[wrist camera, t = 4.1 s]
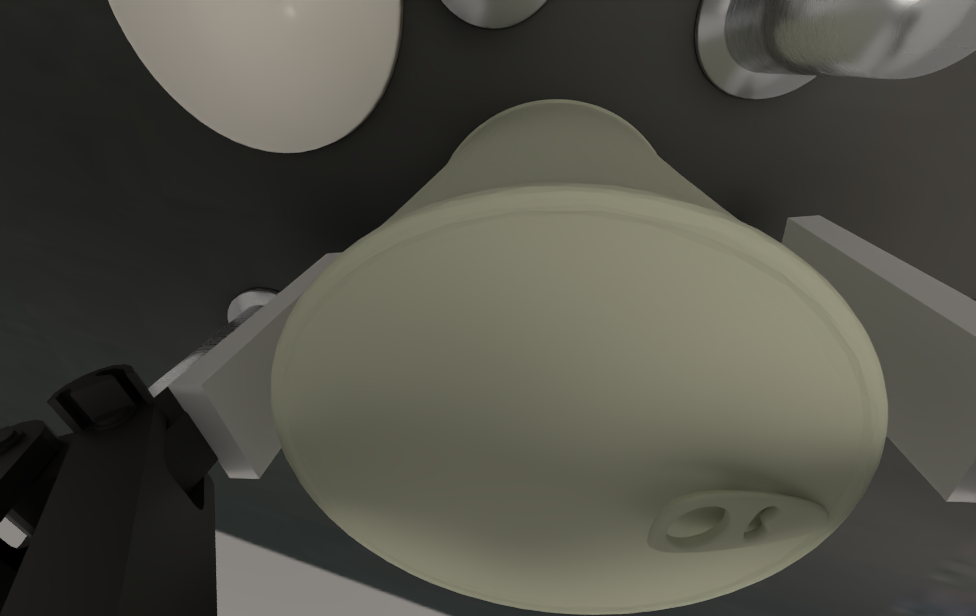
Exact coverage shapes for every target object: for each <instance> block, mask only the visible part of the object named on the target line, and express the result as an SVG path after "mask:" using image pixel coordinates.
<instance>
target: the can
mask: <svg viewBox="0 0 976 616" xmlns="http://www.w3.org/2000/svg"><path fill="white" fill-rule="evenodd" d="M271 408H272V416H273V421H274V425H275V429H276V432H277V436H278V438H279V441H280V444H281V446H282V449H283V452H284V455H285V457H286V459H287V461H288V462H289V464H290V466H291V468H292V469H293V471H294V473H295V475H296V476H297V478H298V480H299V482H300V483H301V485H302V486H303V487H304V488H305V490H306V491H307V492H308V494H309V495H310V496H311V498H312V499H313V500H314V501H315V503H316V504H317V505H318V506H319V507H320V508H321V509H322V510H323V511H324V512H325V513H326V514H327V515H328V517H329V518H330V519H331V520H333V521H334V522H335V523H336V524H337V525H338V526H339V527H341V528H342V529H343V530H344V531H345V532H346V533H347V534H348V535H350V536H351V537H352V538H354V539H355V540H356V541H358V542H359V543H360V544H362V545H363V546H364V547H366V548H368V549H369V550H371V551H372V552H374V553H375V554H377V555H379V556H380V557H382V558H383V559H385V560H386V561H388V562H390V563H392V564H394V565H395V566H397V567H399V568H401V569H403V570H405V571H407V572H408V573H410V574H412V575H415V576H417V577H419V578H421V579H423V580H426V581H428V582H430V583H433V584H436V585H438V586H441V587H444V588H447V589H449V590H452V591H455V592H458V593H460V594H464V595H467V596H471V597H475V598H478V599H482V600H485V601H489V602H493V603H497V604H502V605H507V606H512V607H517V608H523V609H530V610H536V611H544V612H553V613H566V614H591V615H599V614H626V613H636V612H646V611H655V610H661V609H667V608H673V607H679V606H684V605H689V604H693V603H697V602H701V601H705V600H708V599H711V598H715V597H718V596H721V595H725V594H728V593H731V592H734V591H736V590H739V589H741V588H744V587H746V586H748V585H751V584H753V583H756V582H758V581H761V580H763V579H765V578H767V577H769V576H771V575H773V574H775V573H777V572H779V571H781V570H782V569H784V568H785V567H787V566H789V565H790V564H792V563H794V562H795V561H797V560H798V559H800V558H802V557H803V556H804V555H806V554H807V553H809V552H810V551H811V550H813V549H814V548H816V547H817V546H818V545H819V544H820V543H821V542H823V541H824V540H825V539H826V538H827V537H828V536H829V535H830V534H831V533H833V532H834V531H835V530H836V529H837V528H838V526H839V525H840V524H841V523H842V522H843V521H844V520H845V519H846V518H847V517H848V516H849V514H850V513H851V512H852V510H853V509H854V508H855V506H856V505H857V503H858V502H859V501H860V499H861V498H862V497H863V495H864V494H865V492H866V490H867V488H868V486H869V484H870V482H871V480H872V478H873V476H874V474H875V472H876V470H877V468H878V466H879V463H880V459H881V455H882V452H883V447H884V443H885V439H886V433H887V424H888V400H887V394H886V388H885V382H884V377H883V373H882V369H881V365H880V362H879V359H878V356H877V354H876V352H875V349H874V347H873V345H872V342H871V340H870V338H869V335H868V334H867V332H866V330H865V329H864V327H863V326H862V324H861V322H860V321H859V319H858V318H857V317H856V315H855V314H854V312H853V311H852V309H851V308H850V306H849V305H848V303H847V302H846V301H845V300H844V298H843V297H842V296H841V295H840V294H839V293H838V292H837V291H836V289H835V288H834V287H833V286H832V285H831V284H830V283H829V281H828V280H826V279H825V278H824V277H823V276H822V275H821V274H820V273H818V272H817V271H816V270H815V269H814V268H813V267H812V266H810V265H809V264H808V263H807V262H806V261H804V260H803V259H802V258H800V257H799V256H798V255H796V254H795V253H794V252H792V251H791V250H790V249H789V248H787V247H786V246H784V245H783V244H781V243H780V242H778V241H776V240H775V239H773V238H771V237H770V236H768V235H766V234H765V233H763V232H762V231H760V230H758V229H756V228H754V227H752V226H750V225H748V224H745V223H743V222H741V221H739V220H738V219H737V218H735V217H734V216H733V215H731V214H730V213H729V212H727V211H726V210H725V209H723V208H722V207H721V206H720V205H718V204H717V203H716V202H715V201H713V200H712V199H711V198H709V197H708V196H707V195H706V194H704V193H703V192H702V191H701V190H699V189H698V188H697V187H695V186H694V185H693V184H692V183H690V182H689V181H688V180H687V179H685V178H684V177H683V176H681V175H680V174H679V173H678V172H677V171H676V170H674V169H673V168H672V167H671V166H670V165H668V164H667V163H666V162H665V161H664V160H662V159H661V158H660V157H659V156H658V155H657V153H656V152H655V150H654V149H653V148H652V146H651V145H650V143H649V142H648V141H647V140H646V139H645V137H644V136H643V135H642V134H641V133H640V132H639V131H638V130H637V129H636V128H634V127H633V126H632V125H631V124H629V123H628V122H627V121H625V120H624V119H623V118H621V117H619V116H618V115H616V114H614V113H612V112H610V111H608V110H606V109H604V108H601V107H599V106H596V105H592V104H589V103H585V102H581V101H576V100H567V99H547V100H538V101H533V102H528V103H524V104H521V105H517V106H515V107H512V108H509V109H507V110H505V111H503V112H501V113H499V114H497V115H495V116H493V117H491V118H490V119H488V120H487V121H485V122H484V123H482V124H481V125H480V126H478V127H477V128H476V129H475V130H474V131H473V132H471V133H470V134H469V135H468V136H467V138H466V139H465V140H464V141H463V142H462V143H461V144H460V145H459V147H458V148H457V149H456V151H455V152H454V153H453V155H452V156H451V158H450V160H449V162H448V163H447V165H446V166H445V167H444V168H443V169H441V170H440V171H439V172H438V173H437V174H436V175H435V176H434V177H433V178H432V179H431V180H430V181H429V182H428V183H427V184H426V185H425V186H424V187H422V188H421V189H420V190H419V191H418V192H417V193H416V194H415V195H414V196H413V197H412V198H411V199H410V200H409V201H408V202H407V203H406V204H405V205H403V206H402V207H401V208H400V209H399V210H398V211H397V212H396V213H395V214H394V215H393V216H392V217H390V218H389V219H388V220H387V221H386V222H385V223H384V224H382V225H381V226H380V227H379V228H377V229H375V230H374V231H372V232H371V233H369V234H367V235H366V236H364V237H362V238H361V239H359V240H358V241H357V242H355V243H354V244H353V245H351V246H350V247H349V248H347V249H346V250H345V251H344V252H342V253H341V254H340V255H339V256H338V257H337V258H335V259H334V260H333V261H332V262H331V263H330V264H328V265H327V266H326V267H325V268H324V269H323V270H322V271H321V272H320V274H319V275H318V276H317V277H316V278H315V279H314V280H313V281H312V282H311V284H310V285H309V286H308V288H307V289H306V290H305V291H304V293H303V294H302V295H301V297H300V298H299V299H298V301H297V303H296V304H295V306H294V308H293V310H292V312H291V314H290V315H289V317H288V319H287V321H286V323H285V326H284V328H283V331H282V333H281V336H280V338H279V341H278V343H277V346H276V350H275V355H274V359H273V363H272V370H271Z"/></svg>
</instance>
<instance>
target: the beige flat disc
mask: <svg viewBox="0 0 976 616" xmlns="http://www.w3.org/2000/svg"><path fill="white" fill-rule="evenodd" d="M108 2H109V4H110V6H111V8H112V11H113V13H114V15H115V17H116V19H117V21H118V23H119V25H120V26H121V28H122V30H123V32H124V34H125V36H126V38H127V39H128V41H129V42H130V44H131V45H132V47H133V49H134V50H135V52H136V53H137V55H138V56H139V58H140V59H141V61H142V62H143V63H144V65H145V66H146V67H147V69H148V70H149V71H150V73H151V74H152V75H153V77H154V78H155V79H156V80H157V81H158V82H159V83H160V84H161V86H162V87H163V88H164V89H165V90H166V91H167V92H168V93H169V95H171V96H172V97H173V98H174V99H175V100H176V101H177V102H178V103H179V104H180V105H181V106H182V107H183V108H184V109H185V110H187V111H188V112H189V113H190V114H192V115H193V116H194V117H196V118H197V119H198V120H199V121H201V122H202V123H203V124H205V125H207V126H208V127H210V128H211V129H213V130H214V131H216V132H217V133H219V134H221V135H223V136H225V137H227V138H229V139H231V140H233V141H235V142H238V143H241V144H243V145H246V146H249V147H251V148H255V149H260V150H264V151H268V152H278V153H297V152H305V151H309V150H314V149H318V148H320V147H323V146H326V145H328V144H331V143H334V142H336V141H338V140H340V139H342V138H343V137H345V136H347V135H348V134H350V133H352V132H353V131H354V130H355V129H356V128H358V127H359V126H360V125H361V124H362V123H363V122H364V121H365V120H366V119H367V118H368V117H369V116H370V114H371V113H372V112H373V111H374V110H375V108H376V107H377V105H378V103H379V102H380V100H381V99H382V97H383V95H384V94H385V91H386V89H387V87H388V85H389V83H390V80H391V78H392V75H393V72H394V69H395V66H396V62H397V59H398V55H399V49H400V44H401V38H402V28H403V13H404V7H403V0H108Z"/></svg>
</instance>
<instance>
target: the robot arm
mask: <svg viewBox="0 0 976 616" xmlns="http://www.w3.org/2000/svg"><path fill="white" fill-rule="evenodd" d="M782 244H783V245H784V246H786V247H787V248H789V249H790V250H791V251H792V252H794V253H795V254H796V255H798V256H799V257H800V258H802V259H803V260H804V261H806V262H807V263H808V264H809V265H810V266H812V267H813V268H814V269H815V270H816V271H817V272H818V273H820V274H821V275H822V276H823V277H824V278H825V279H826V280H828V281H829V283H830V284H831V285H832V286H833V287H834V288H835V289H836V291H837V292H838V293H839V294H840V295H841V296H842V297H843V298H844V300H845V301H846V302H847V303H848V305H849V306H850V308H851V309H852V311H853V312H854V314H855V315H856V317H857V318H858V319H859V321H860V322H861V324H862V326H863V327H864V329H865V330H866V332H867V334H868V335H869V338H870V340H871V342H872V345H873V347H874V349H875V352H876V354H877V356H878V359H879V362H880V365H881V369H882V373H883V377H884V382H885V388H886V394H887V400H888V424H887V433H886V436H887V437H888V438H889V439H890V440H891V441H892V442H893V443H894V444H895V445H896V447H897V448H898V449H899V450H900V451H901V452H902V453H903V454H904V455H905V456H906V457H907V459H908V460H909V461H910V462H911V463H912V464H913V465H914V466H915V467H916V468H917V470H918V471H919V472H920V473H921V474H922V475H923V476H924V477H925V478H926V479H927V480H928V482H929V483H930V484H931V485H932V486H933V487H934V488H935V489H936V490H937V491H938V493H939V494H940V495H941V496H942V497H943V498H944V499H945V500H946V501H952V502H976V300H975V299H972V298H969V297H967V296H965V295H964V294H962V293H960V292H958V291H956V290H954V289H953V288H951V287H949V286H947V285H945V284H944V283H942V282H940V281H938V280H936V279H934V278H933V277H931V276H929V275H927V274H925V273H923V272H922V271H920V270H918V269H916V268H914V267H913V266H911V265H909V264H907V263H905V262H903V261H902V260H900V259H898V258H896V257H894V256H893V255H891V254H889V253H887V252H885V251H883V250H882V249H880V248H878V247H876V246H874V245H873V244H871V243H869V242H867V241H865V240H863V239H862V238H860V237H858V236H856V235H854V234H853V233H851V232H849V231H847V230H845V229H843V228H842V227H840V226H838V225H836V224H834V223H833V222H831V221H829V220H827V219H825V218H823V217H822V216H820V215H816V216H803V217H790V218H788V219H787V223H786V227H785V231H784V236H783V240H782ZM341 253H342V252H341ZM341 253H328V254H326V255H324V256H323V257H322V258H321V259H320V260H318V261H317V262H316V263H315V264H314V265H312V266H311V267H310V268H309V269H308V270H306V271H305V272H304V273H303V274H302V275H300V276H299V277H298V278H297V279H295V280H294V281H293V282H292V283H291V284H289V285H288V286H287V287H286V288H285V289H283V290H282V291H281V292H280V293H279V294H277V295H276V296H275V297H274V298H273V299H271V300H270V301H269V302H268V303H267V304H265V305H264V306H263V307H262V308H261V309H259V310H258V311H257V312H256V313H255V314H253V315H252V316H251V317H250V318H249V319H247V320H246V321H245V322H244V323H243V324H241V325H240V326H239V327H238V328H237V329H235V330H234V331H233V332H232V333H231V334H229V335H228V336H227V337H226V338H224V339H223V340H222V341H221V342H220V343H218V344H217V345H216V346H215V347H214V348H212V349H211V350H210V351H209V352H208V353H206V354H205V355H204V356H203V357H202V358H200V359H199V360H198V361H197V362H196V363H194V364H193V365H192V366H191V367H190V368H188V369H187V370H186V371H185V372H184V373H182V374H181V375H180V376H179V377H178V378H176V379H175V380H174V381H173V382H172V383H170V384H169V385H168V386H167V387H166V388H165V389H164V390H162V391H161V392H160V393H159V394H158V395H156V396H155V397H153V396H152V394H151V393H150V391H149V390H148V389H147V387H146V386H145V384H144V383H143V382H142V380H141V379H140V377H139V376H138V375H137V373H136V372H135V370H134V369H133V368H132V366H129V365H125V364H123V365H113V366H110V367H106V368H102V369H99V370H96V371H94V372H91V373H89V374H86V375H84V376H82V377H80V378H78V379H76V380H74V381H72V382H71V383H69V384H67V385H65V386H64V387H63V388H61V389H60V390H58V391H57V392H56V393H54V394H53V396H52V397H51V398H50V399H49V400H48V401H47V402H48V404H49V405H50V406H51V407H52V408H53V409H54V410H55V411H56V413H57V414H58V415H59V416H60V417H61V418H62V419H63V420H64V422H65V423H66V424H67V425H68V426H69V427H70V428H71V429H72V431H73V432H74V433H71V434H67V435H63V436H57V435H56V434H55V433H54V432H53V431H52V430H51V429H50V428H49V427H48V426H47V425H46V423H45V422H44V421H39V420H32V421H27V422H22V423H19V424H16V425H13V426H11V427H10V426H7V427H5V428H2V429H0V522H1V521H2V520H3V518H4V517H6V518H7V519H8V520H9V521H10V522H12V523H13V524H14V525H15V526H17V527H18V528H19V529H20V530H21V531H22V532H23V533H25V534H26V535H27V537H26V538H25V540H24V541H23V542H22V544H21V545H20V546H19V547H18V548H14V547H11V546H10V545H8V544H7V543H6V542H5V541H3V540H2V539H1V538H0V616H217V590H216V551H215V550H216V548H215V506H214V484H213V481H212V479H211V477H210V476H209V474H208V473H207V472H208V471H209V470H210V469H211V467H212V466H213V465H214V464H215V463H216V461H217V460H218V461H219V463H220V464H221V466H222V467H223V469H224V470H225V472H226V473H227V475H228V476H229V477H230V478H249V479H259V478H260V477H261V476H262V474H263V473H264V471H265V470H266V468H267V467H268V466H269V464H270V463H271V461H272V460H273V459H274V457H275V456H276V454H277V453H278V452H279V450H280V449H281V447H282V446H281V444H280V441H279V438H278V436H277V432H276V429H275V425H274V421H273V416H272V408H271V370H272V363H273V359H274V355H275V350H276V346H277V343H278V341H279V338H280V336H281V333H282V331H283V328H284V326H285V323H286V321H287V319H288V317H289V315H290V314H291V312H292V310H293V308H294V306H295V304H296V303H297V301H298V299H299V298H300V297H301V295H302V294H303V293H304V291H305V290H306V289H307V288H308V286H309V285H310V284H311V282H312V281H313V280H314V279H315V278H316V277H317V276H318V275H319V274H320V272H321V271H322V270H323V269H324V268H325V267H326V266H327V265H328V264H330V263H331V262H332V261H333V260H334V259H335V258H337V257H338V256H339V255H340V254H341Z"/></svg>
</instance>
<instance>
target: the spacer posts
mask: <svg viewBox="0 0 976 616" xmlns="http://www.w3.org/2000/svg"><path fill="white" fill-rule="evenodd" d="M441 1H442V2H443V3H444V4H445V5H446V6H447V8H448V9H449V10H450V11H451V12H453V13H454V14H455V15H457V16H458V17H459V18H461V19H463V20H464V21H466V22H468V23H470V24H472V25H475V26H477V27H482V28H486V29H501V28H507V27H511V26H514V25H516V24H519V23H521V22H523V21H524V20H526V19H528V18H529V17H531V16H532V15H533V14H534V13H536V12H537V11H538V10H539V9H540V8H541V7H542V6H543V5H544V4H545V3H546V1H547V0H441ZM695 50H696V54H697V59H698V61H699V64H700V67H701V69H702V71H703V72H704V74H705V76H706V77H707V78H708V79H709V81H710V82H711V83H712V84H713V85H714V86H716V87H717V88H718V89H720V90H721V91H723V92H725V93H727V94H730V95H732V96H736V97H741V98H747V99H766V98H771V97H776V96H779V95H783V94H786V93H788V92H790V91H793V90H795V89H797V88H799V87H801V86H803V85H804V84H806V83H808V82H809V81H811V80H812V79H813V78H815V77H816V76H835V77H859V78H883V79H906V78H913V77H918V76H923V75H926V74H929V73H933V72H936V71H938V70H940V69H943V68H945V67H948V66H950V65H952V64H953V63H955V62H957V61H959V60H961V59H963V58H964V57H966V56H968V55H969V54H971V53H972V52H974V51H975V50H976V0H701V3H700V6H699V10H698V13H697V18H696V24H695ZM279 293H280V292H278V291H275V290H271V289H266V288H254V289H250V290H247V291H245V292H243V293H242V294H240V295H239V296H238V297H236V298H235V299H234V300H233V301H232V302H231V304H230V306H229V309H228V324H227V325H226V326H225V327H224V328H222V329H221V330H220V331H219V332H217V333H216V334H215V335H214V336H212V337H211V338H210V339H209V340H207V341H206V342H205V343H204V344H202V345H201V346H200V347H199V348H198V349H196V350H195V351H194V352H193V353H191V354H190V355H189V356H188V357H186V358H185V359H184V360H183V361H181V362H180V363H179V364H178V365H176V366H175V367H174V368H173V369H172V370H170V371H169V372H168V373H167V374H165V375H164V376H163V377H162V378H160V379H159V380H158V381H157V382H155V383H154V384H153V385H152V386H150V388H149V389H148V390H149V391H150V393H151V394H152V396H153V397H155V396H156V395H158V394H159V393H160V392H161V391H162V390H164V389H165V388H166V387H167V386H168V385H169V384H170V383H172V382H173V381H174V380H175V379H176V378H178V377H179V376H180V375H181V374H182V373H184V372H185V371H186V370H187V369H188V368H190V367H191V366H192V365H193V364H194V363H196V362H197V361H198V360H199V359H200V358H202V357H203V356H204V355H205V354H206V353H208V352H209V351H210V350H211V349H212V348H214V347H215V346H216V345H217V344H218V343H220V342H221V341H222V340H223V339H224V338H226V337H227V336H228V335H229V334H231V333H232V332H233V331H234V330H235V329H237V328H238V327H239V326H240V325H241V324H243V323H244V322H245V321H246V320H247V319H249V318H250V317H251V316H252V315H253V314H255V313H256V312H257V311H258V310H259V309H261V308H262V307H263V306H264V305H265V304H267V303H268V302H269V301H270V300H271V299H273V298H274V297H275V296H276V295H277V294H279Z"/></svg>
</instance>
